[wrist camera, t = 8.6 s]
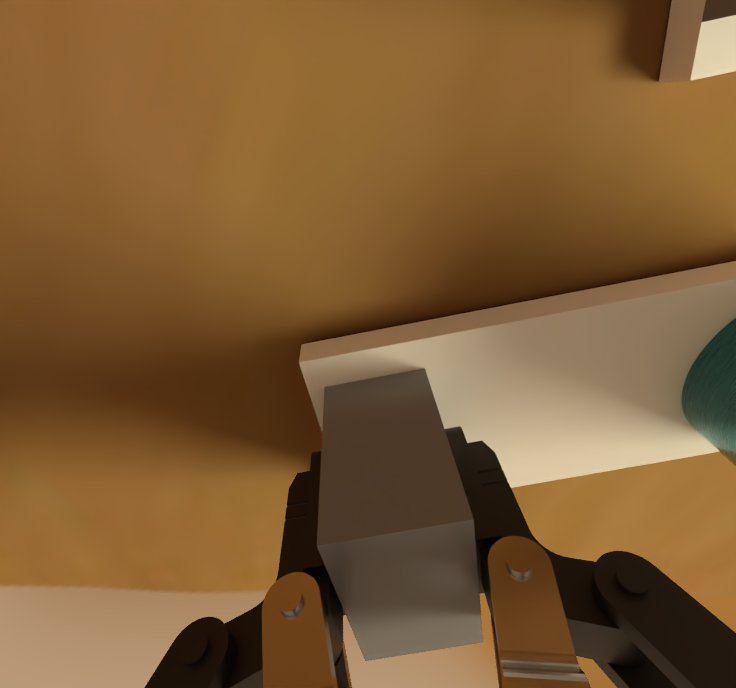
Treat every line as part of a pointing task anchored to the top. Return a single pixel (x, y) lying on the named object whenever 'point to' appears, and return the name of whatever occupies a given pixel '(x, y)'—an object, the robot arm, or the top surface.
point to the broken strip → (699, 40)
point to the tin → (714, 392)
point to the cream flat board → (490, 432)
